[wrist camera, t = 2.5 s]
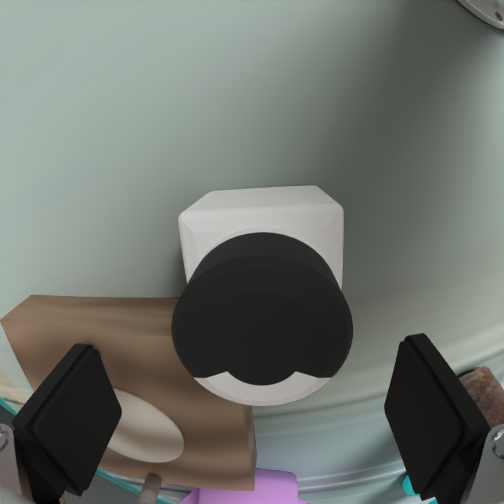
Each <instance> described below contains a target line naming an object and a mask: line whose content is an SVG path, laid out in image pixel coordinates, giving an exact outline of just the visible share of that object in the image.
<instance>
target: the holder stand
mask: <svg viewBox="0 0 504 504" xmlns="http://www.w3.org/2000/svg"><path fill="white" fill-rule="evenodd" d="M178 299H179V298H106V297H68V296H43V295H31V296H30V297H28V298H27V299H26V300H24V301H23V302H22V303H21V304H19V305H18V306H17V307H16V308H14V309H13V310H12V311H10V312H9V313H8V314H7V315H6V316H4V317H3V318H2V319H1V320H0V322H1V324H2V326H3V329H4V331H5V334H6V336H7V338H8V341H9V343H10V345H11V347H12V349H13V352H14V354H15V356H16V358H17V360H18V362H19V364H20V366H21V368H22V370H23V372H24V374H25V376H26V378H27V379H28V381H29V383H30V385H31V387H32V389H33V390H34V392H35V391H36V389H37V388H38V387H39V386H40V385H41V383H42V382H43V381H44V380H45V378H46V377H47V376H48V375H49V374H50V372H51V371H52V370H53V369H54V368H55V366H56V365H57V364H58V363H59V362H60V360H61V359H62V358H63V357H64V356H65V355H66V353H67V352H68V351H69V350H70V349H71V348H72V346H73V345H74V344H76V343H81V344H91V345H93V346H94V348H95V349H96V350H98V352H99V354H100V357H101V359H102V362H103V365H104V367H105V370H106V372H107V375H108V377H109V380H110V382H111V385H112V387H113V390H114V392H115V394H116V397H117V399H118V401H119V403H120V406H121V408H122V416H121V419H120V421H119V423H118V425H117V427H116V429H115V431H114V433H113V435H112V437H111V440H110V442H109V444H108V446H107V448H106V450H105V452H104V455H103V457H102V459H101V461H100V463H99V466H98V468H100V469H103V470H107V471H111V472H115V473H118V474H122V475H127V476H131V477H135V478H140V479H145V483H144V486H143V489H142V492H141V495H140V498H139V501H138V504H155V502H156V499H157V496H158V492H159V489H160V485H161V483H167V484H173V485H180V486H188V487H196V488H206V489H218V490H234V491H254V489H255V473H256V457H257V453H256V444H255V435H254V426H253V417H252V408H251V405H245V404H241V403H236V402H233V401H230V400H227V399H224V398H222V397H220V396H218V395H216V394H214V393H212V392H211V391H209V390H207V389H206V388H205V387H203V386H202V385H201V384H200V383H199V382H198V381H196V380H195V379H194V378H193V377H192V376H191V375H190V373H189V372H188V371H187V370H186V368H185V367H184V366H183V364H182V363H181V361H180V359H179V358H178V355H177V353H176V351H175V348H174V344H173V340H172V332H171V324H172V316H173V312H174V309H175V306H176V304H177V302H178Z"/></svg>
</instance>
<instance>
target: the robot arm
mask: <svg viewBox="0 0 504 504" xmlns="http://www.w3.org/2000/svg"><path fill="white" fill-rule="evenodd" d="M458 1H459V2H460V3H461V4H462V5H463V6H464V7H465V8H467V9H468V10H469V11H471V12H472V13H473V14H475V15H476V16H477V17H479V18H480V19H482V20H483V21H485V22H487V23H488V24H490V25H493V26H495V27H497V28H500V29H503V30H504V0H458ZM384 409H385V414H386V417H387V419H388V422H389V425H390V427H391V430H392V432H393V435H394V438H395V441H396V443H397V446H398V449H399V451H400V454H401V457H402V460H403V463H404V465H405V468H406V471H407V474H408V477H409V480H410V483H411V486H412V489H413V491H414V493H415V494H420V497H421V500H422V501H424V500H427V499H430V498H432V497H436V500H437V503H438V504H504V424H501V425H498V426H496V427H494V428H493V429H492V430H491V428H490V426H489V425H488V424H489V423H488V422H487V420H486V419H485V417H484V415H483V414H482V412H481V411H480V409H479V408H478V406H477V405H476V403H475V402H474V400H473V399H472V397H471V396H470V395H469V393H468V392H467V390H466V389H465V387H464V386H463V384H462V383H461V382H460V380H459V379H458V377H457V376H456V375H455V373H454V372H453V370H452V369H451V368H450V366H449V365H448V363H447V362H446V361H445V359H444V358H443V357H442V355H441V354H440V353H439V351H438V350H437V349H436V347H435V346H434V345H433V343H432V342H431V341H430V340H429V338H428V337H427V336H426V335H425V334H424V333H421V334H415V335H409V336H406V337H405V339H404V341H402V342H400V344H399V348H398V353H397V357H396V362H395V366H394V370H393V374H392V378H391V382H390V386H389V390H388V394H387V397H386V401H385V406H384ZM121 416H122V408H121V406H120V403H119V401H118V399H117V397H116V394H115V392H114V390H113V387H112V385H111V382H110V380H109V377H108V375H107V372H106V370H105V367H104V365H103V362H102V359H101V357H100V354H99V352H98V350H96V349H95V348H94V346H93V345H91V344H81V343H76V344H74V345H73V346H72V348H71V349H70V350H69V351H68V352H67V353H66V355H65V356H64V357H63V358H62V359H61V360H60V362H59V363H58V364H57V365H56V366H55V368H54V369H53V370H52V371H51V372H50V374H49V375H48V376H47V377H46V378H45V380H44V381H43V382H42V383H41V385H40V386H39V387H38V388H37V389H36V391H35V392H34V393H33V394H32V396H31V397H30V398H29V400H28V401H27V402H26V403H25V405H24V406H23V407H22V409H21V410H20V411H19V412H18V414H17V415H16V416H15V418H14V419H13V420H12V422H11V423H12V424H13V426H14V427H15V430H14V431H12V430H11V429H10V427H8V426H7V425H4V424H0V504H66V501H65V498H64V495H63V494H64V491H65V490H66V491H67V492H69V493H72V494H75V495H77V496H82V493H83V491H84V490H87V489H88V487H89V486H90V483H91V481H92V479H93V477H94V474H95V472H96V470H97V468H98V466H99V463H100V461H101V459H102V457H103V455H104V452H105V450H106V448H107V446H108V444H109V442H110V440H111V437H112V435H113V433H114V431H115V429H116V427H117V425H118V423H119V421H120V419H121Z"/></svg>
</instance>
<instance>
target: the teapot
mask: <svg viewBox="0 0 504 504" xmlns="http://www.w3.org/2000/svg"><path fill="white" fill-rule="evenodd" d="M178 504H309V503H307V502H305V501H302V500H300V499H298V483H297V480H296V477H295V475H294V473H290V472H283V471H274V470H266V469H257V468H256V473H255V489H254V491H234V490H218V489H206V488H195V489H194V490H193V491H192V492H191V493H190V494H188V495H187V496H186V497H185V498H184V499H183V500H182V501H180V502H179V503H178Z"/></svg>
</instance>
